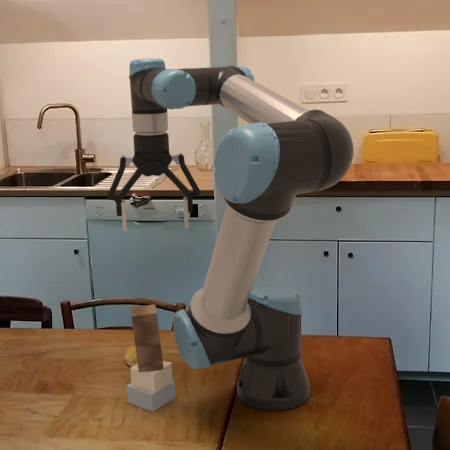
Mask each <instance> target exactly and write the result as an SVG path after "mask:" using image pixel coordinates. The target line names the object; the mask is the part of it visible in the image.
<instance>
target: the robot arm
mask: <svg viewBox="0 0 450 450" xmlns="http://www.w3.org/2000/svg"><path fill="white" fill-rule="evenodd" d="M128 75H129V76H128V80H129V84H130V85H129V88H130V99H131V100H130V101H131V103H130V104H131V120H132V131H133V132H134V133H135V134H134V135H133V137H132V138H133V151H134V153H133V156H125V155H120V158H119V167H118V169H117V172H116V174H115V177H114V179H113V181H112V183H111V186H110V188H109V191H108V193H107V196H106V198H107V199H108V200H109V201H113V202H115V207H116V208H115V209H116V216H117V217H121V218H122V232H125V233H127V232H128V226H127V222H128V221H127V208H126V199H124V197H125V196H126V195H127V194H128V192H129V191H130V190H131V188H132V187H134V185H135V184H136V183H137V181H138V180H139V179H140V178H141V176H145V177H151V176H155V177H161V175H165V176H166V177H167V178H168V179H170V182H172V183H173V185H175V186H176V187H177V189H178V190H179V191H181V193H182V194H183V195H184V197H183V217H184V229H189V226H190V225H189V213H193V210H194V202H193V200H194V198H195V197H196V196H200V195H201V190H200V187H199V186H198V184H197V183H196V181H195V178H194V177H193V175H192V173H191V172H190V169H189V168H188V166H187V164H186V161H185V156H184V153H182V152H179V153H178V154H173V155H171V153H170V142H169V140H170V139H169V134H168V132H167V131H168V130H169V120H168V110H178V109H179V110H180V109H184V108H186V107H198V106H209V105H210V106H212V105H213V106H214V105H215V106H216V105H219V106H221V107H223V108H224V109H226V110H228V111H229V112H231V113H233V114H234V115H235V116H237V117H238V118H240V119H241V120H244V122H246V123H248V124H245V125H238V126H236V127H233V128H231V129H229V131H228V132H226V133H225V134H224V135H223V136H222V138H221V139H220V141H219V143H218V145H217V147H216V151H215V154H214V159H213V163H214V164H213V167H214V168H215V171H214V181H215V184H216V187H217V190H218V191H219V193H220V195H221V196H222V200H223V201H224V203H225V204H226V208H225V211H224V215H223V217H222V222H221V225H220V228H219V232H218V235H217V238H216V241H215V245H214V249H213V253H212V256H211V260H210V263H209V267H208V270H207V274H206V277H205V280H204V283H203V287H202V288H200V289H199V290H197V291H196V292H195V293H194V294H193V296H192V297H191V300H190V303H189V307H188V308H187V309H184V308H183V309H180V310H179V311H176V312H175V313H174V315H173V317H172V328H173V329H172V330H173V336H174V339H175V343H176V345H177V349H178V350H179V353H180V355H181V358H182V359H183V360H184V362H185V363H186V365H187V366H188V367H190V368H192V369H195V370H200V369H205V368H209V369H210V368H211V367H214V366H218V365H221V364H225V363H228V362H229V363H230V362H232V361H235V360H236V361H237V360H239V359H243V358H244V360H243V364H242V367H241V369H240V373H239V376H238V379H237V384H236V386H237V387H236V392H237V393H236V394H237V397H238V398H239V400H240V401H241V402H242V403H243V404H245V405H247V406H249V407H252V408H254V409H257V410H263V411H284V410H290V409H294V408H297V407H299V406H301V405H303V404H304V403H306V402H307V401H308V399H309V398H310V395H311V394H310V393H311V389H310V388H311V384H310V380H309V378H308V375H307V372H306V367H305V365H304V362H303V359H302V315H303V311H302V309H303V308H302V299H301V296H300V294H299V293H298V292H297V291H296V290H295V289H294V288H291V287H290V286H289V287H288V286H284V285H282V284H277V283H276V284H275V283H270V282H269V283H268V282H256V279H257V276H258V273H259V270H260V267H261V265H262V262H263V259H264V256H265V254H266V251H267V249H268V244H269V242H270V239H271V236H272V234H273V231H274V228H275V225H276V223H277V222H278V221H280V220H282V219H283V218H285V217H287V215H288V214H289V213H290V211H291V209H292V206H293V203H294V200H295V198H296V196H297V195H299V194H300V195H301V194H307V193H312V192H318V191H319V192H320V191H323V190H327V189H329V188H331V187H333V186H335V185H336V184H338V183H339V182H340V181H341V180H342V179H343V178H344V177H345V175H346V174H347V173H348V171H349V169H350V167H351V166H352V162H353V158H354V141H353V139H352V136H351V134H350V132H349V130H348V129H347V127H346V126H345V125H344V124H343V123H342V122H341V121H340V120H338V119H337V118H336V117H334V116H332V115H330V114H328V113H326V112H324V111H323V110H320V109H315V108H313V109H307V108H305V107H303V106H301V105H300V104H297V103H295V102H294V101H292V100H290V99H288V98H287V97H285V96H283V95H281V94H279V93H277V92H275V91H274V90H271V89H270V88H268V87H266V86H264V85H262V84H260V83H258V82H256V81H255V77H254V74H252V73H251V70H250V69H249V68H248V67H246V66H243V65H241V66H238V65H237V66H236V65H228V66H213V67H193V68H192V67H191V68H190V67H189V68H167V69H166V63H165V61H164V59H162V58H138V59H137V58H136V59H132V60H130V62H129V74H128ZM172 162H174V163H175V164H176V166H177V165H179V167H180V169H181V171H182V173H183V175H184V176H185V179H186V180H187V182H188V183H189V185H190V187H191V189H192V190H190V189H189V188H188V187H187V186H186V185H185V184H184V183H183V181H181V180H180V178H179V177H178V176H176V174H175V173H174V172H173V171H172V170H171V169H170V165H171V163H172ZM132 163H133V165H134V166H135V167H136V170H135V171H134V172H133V174H132V176H130V178H128V181H127V182H126V183H125V184H124V186H123V187H121V190H120V191H119V192H118V194H117V193H116V191H117V188H118V186H119V184H120V182H121V179H122V177H123V175H124V173H125V170H126V168H128V167H129V166H130V164H132ZM255 282H256V283H255Z"/></svg>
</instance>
